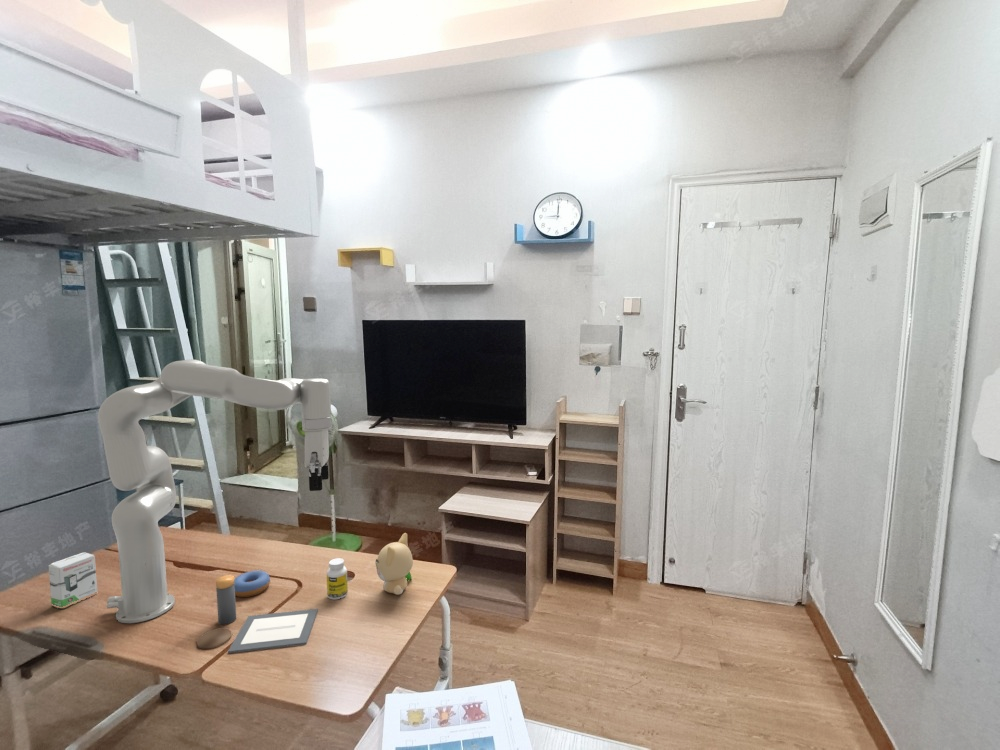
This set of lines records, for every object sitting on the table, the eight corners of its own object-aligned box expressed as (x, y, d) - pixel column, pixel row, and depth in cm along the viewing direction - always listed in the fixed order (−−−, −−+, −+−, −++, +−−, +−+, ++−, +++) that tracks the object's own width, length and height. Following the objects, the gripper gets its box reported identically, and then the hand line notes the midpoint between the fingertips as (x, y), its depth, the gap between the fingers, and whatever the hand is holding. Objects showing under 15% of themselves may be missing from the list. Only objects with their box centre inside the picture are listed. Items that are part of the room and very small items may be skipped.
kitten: (393, 574, 146) (391, 526, 144) (423, 578, 143) (422, 529, 142) (366, 600, 131) (364, 547, 130) (399, 606, 129) (398, 552, 127)
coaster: (192, 650, 111) (192, 648, 111) (205, 632, 118) (204, 630, 118) (225, 647, 112) (224, 644, 112) (235, 629, 119) (235, 626, 119)
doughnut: (259, 575, 145) (257, 562, 144) (277, 587, 139) (276, 573, 138) (225, 593, 137) (223, 579, 136) (243, 606, 131) (241, 591, 130)
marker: (215, 625, 120) (212, 583, 119) (221, 616, 124) (219, 575, 123) (233, 623, 121) (230, 582, 120) (238, 614, 125) (236, 574, 124)
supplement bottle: (326, 601, 131) (325, 567, 130) (328, 591, 136) (326, 558, 135) (347, 598, 132) (346, 564, 131) (348, 588, 138) (347, 555, 137)
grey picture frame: (228, 653, 110) (227, 650, 110) (248, 617, 124) (248, 615, 124) (306, 644, 113) (306, 641, 113) (317, 610, 127) (317, 608, 127)
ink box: (61, 610, 127) (58, 568, 126) (50, 607, 129) (46, 564, 128) (98, 594, 136) (95, 553, 134) (87, 590, 137) (84, 551, 136)
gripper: (309, 418, 139) (311, 476, 141) (294, 430, 122) (297, 496, 124) (336, 417, 140) (338, 474, 142) (325, 429, 123) (328, 494, 125)
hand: (319, 484), depth 133 cm, fingers open, 9 cm apart
